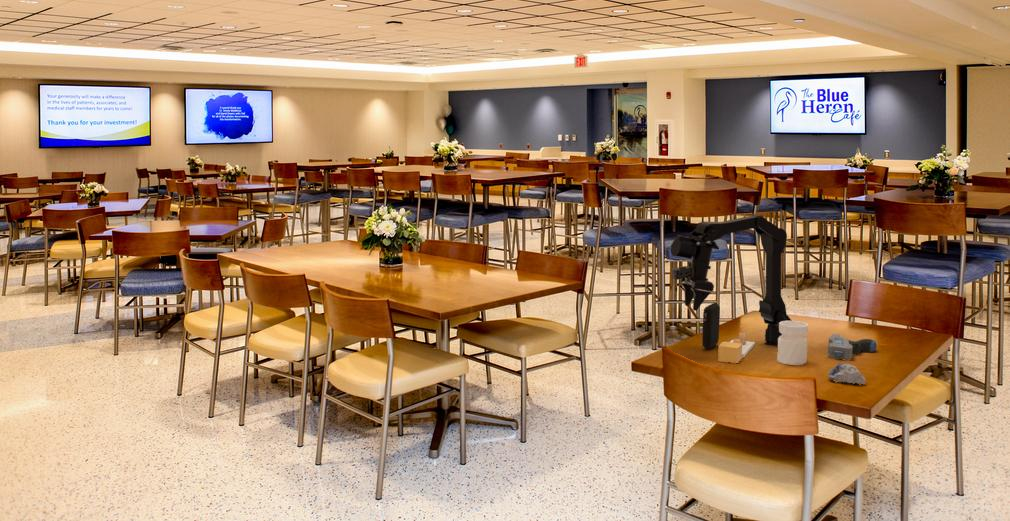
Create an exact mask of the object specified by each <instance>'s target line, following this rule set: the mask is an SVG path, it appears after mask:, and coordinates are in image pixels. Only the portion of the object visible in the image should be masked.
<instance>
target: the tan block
mask: <svg viewBox="0 0 1010 521" xmlns="http://www.w3.org/2000/svg"><path fill="white" fill-rule="evenodd" d="M717 353H718V354H717V356H718V357H717V361H718V362H723V363H728V362H731V363H730V364H736V363H738V364H739V362H740V361H742V359H743V357H742V343H733V342H730V341H722V342H721V343H720V344H719V345H718V352H717Z"/></svg>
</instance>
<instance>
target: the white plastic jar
mask: <svg viewBox="0 0 1010 521" xmlns="http://www.w3.org/2000/svg"><path fill="white" fill-rule="evenodd" d="M779 332H780V333H781V334H782V335H781V336H780V337H779V338H778V345H777V356H776V361H777V362H779V363H781V364H784V365H787V366H789V365H790V366H791V365H792V366H802V365H804V364H806V363H807V357H808V356H807V355H808V339H807V337H805V336H806V335H807V334H809V323H806V322H804V321H798V320H792V321H781V322H779Z"/></svg>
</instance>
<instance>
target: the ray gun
mask: <svg viewBox="0 0 1010 521" xmlns="http://www.w3.org/2000/svg"><path fill="white" fill-rule="evenodd" d="M877 346H878V345H877V341H876V340H874V339H872V338H871V339H870V338H863V339H860V340H856V341H855V340H850V339H849V338H845V337H842V336H841V334H839V333H832V334H831V335H830V337H828V345H827V354H828V358H829V357H831V358H830V359H833V358H838V359H837V360H840V359H845V360H844V361H847V360H850V361H851V359H852V360H853V355H856V356H857V355H859V354H861V351H862V353H873V352H875V351H876V350H877Z"/></svg>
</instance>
